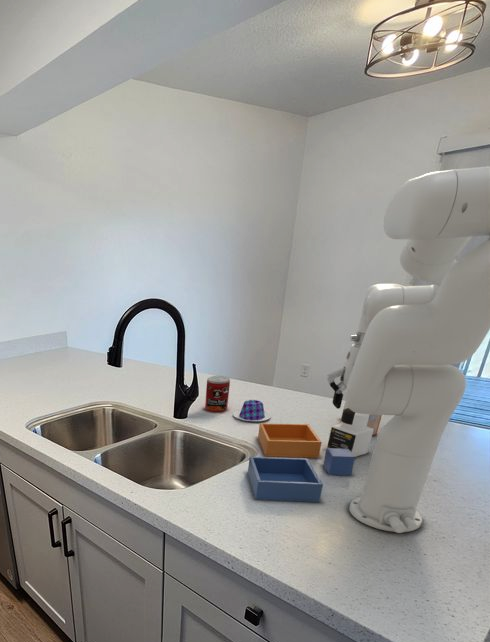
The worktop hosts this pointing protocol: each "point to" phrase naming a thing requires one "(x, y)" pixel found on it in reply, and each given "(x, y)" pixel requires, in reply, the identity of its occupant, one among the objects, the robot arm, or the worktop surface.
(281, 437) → the amber bin
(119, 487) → the worktop surface
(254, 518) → the worktop surface
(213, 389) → the canned food
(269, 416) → the pudding
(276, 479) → the blue bin
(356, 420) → the medicine bottle
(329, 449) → the blue block
